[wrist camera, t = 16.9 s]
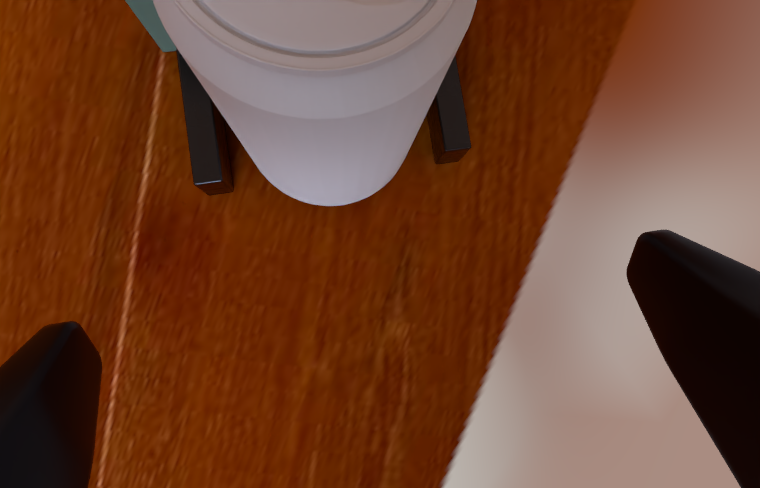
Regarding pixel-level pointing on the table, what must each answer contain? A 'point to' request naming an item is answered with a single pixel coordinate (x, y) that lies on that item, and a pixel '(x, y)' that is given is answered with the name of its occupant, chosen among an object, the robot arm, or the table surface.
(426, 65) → the beverage can
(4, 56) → the table surface
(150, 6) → the rack bay
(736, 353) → the robot arm
